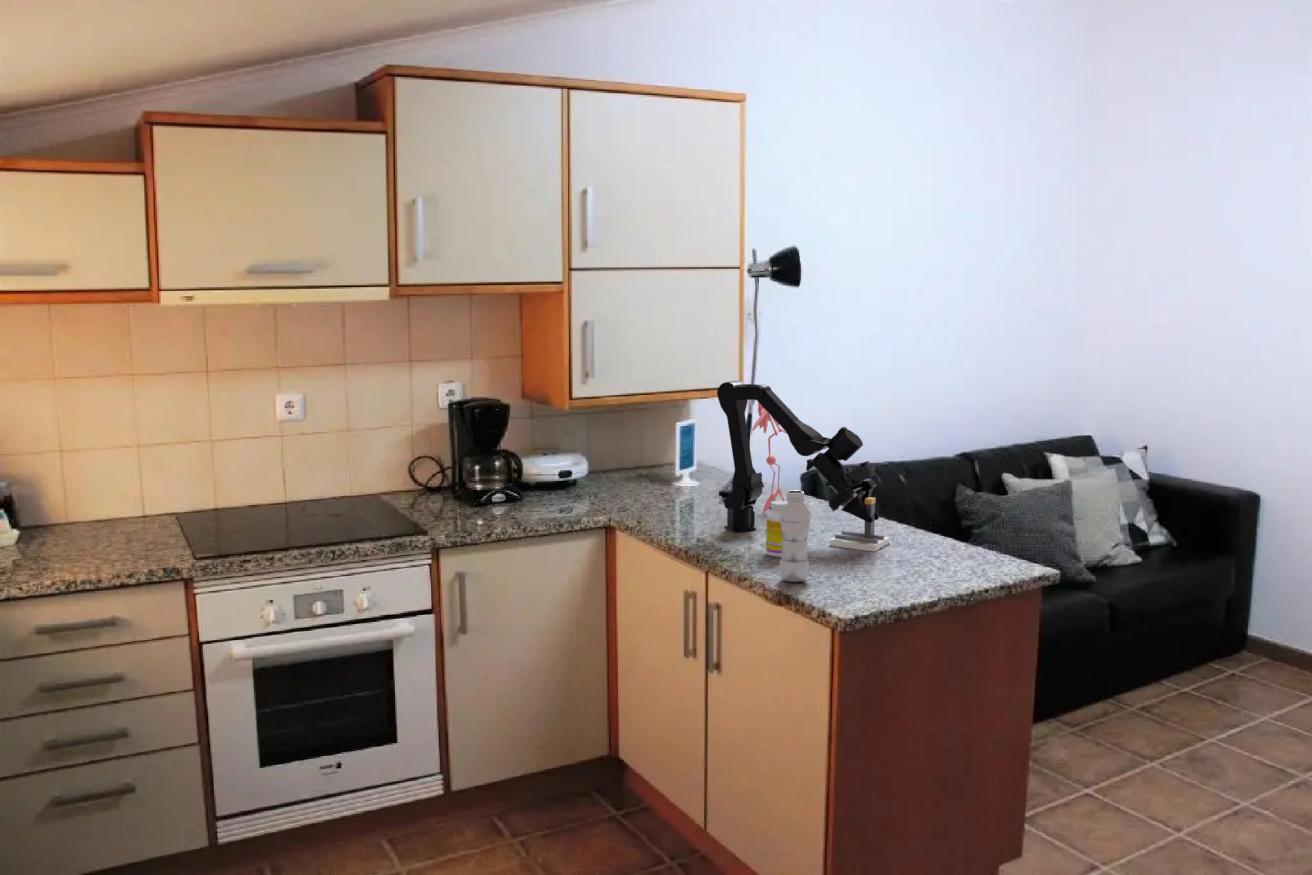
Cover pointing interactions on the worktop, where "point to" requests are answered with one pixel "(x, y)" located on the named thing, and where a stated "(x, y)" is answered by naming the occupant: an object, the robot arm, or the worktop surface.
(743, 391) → the robot arm
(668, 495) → the worktop surface
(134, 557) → the worktop surface
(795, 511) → the plastic bottle
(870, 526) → the handle
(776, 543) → the supplement bottle
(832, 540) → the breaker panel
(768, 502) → the figurine
